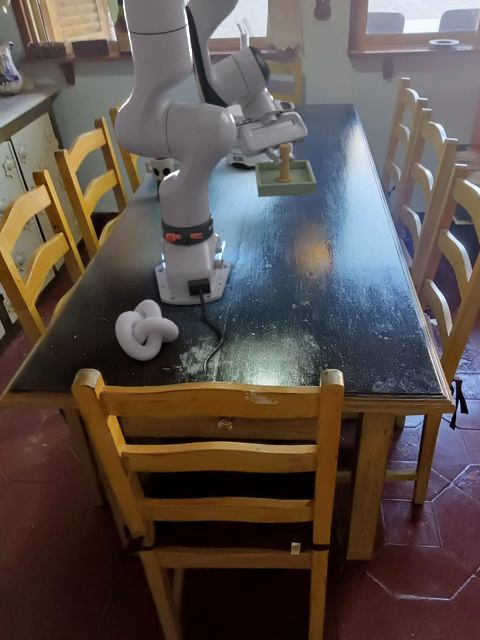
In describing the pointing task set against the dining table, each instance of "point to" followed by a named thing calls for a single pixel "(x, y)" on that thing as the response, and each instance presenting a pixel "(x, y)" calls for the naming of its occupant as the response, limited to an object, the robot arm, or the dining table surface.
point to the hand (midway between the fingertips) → (286, 162)
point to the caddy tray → (285, 188)
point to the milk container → (236, 154)
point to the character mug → (161, 168)
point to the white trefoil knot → (144, 330)
